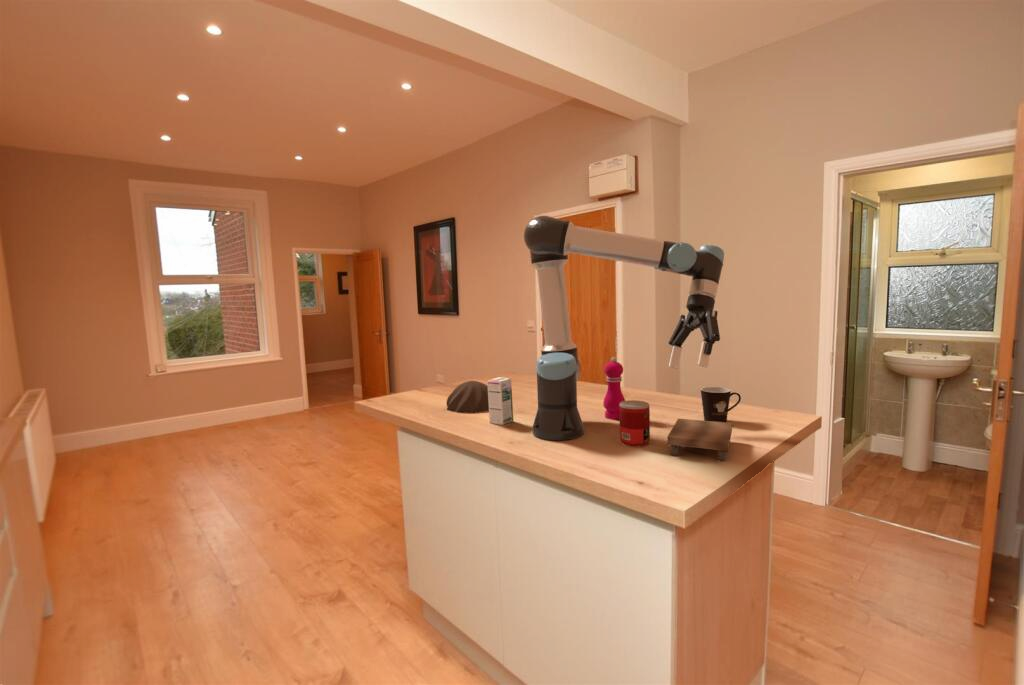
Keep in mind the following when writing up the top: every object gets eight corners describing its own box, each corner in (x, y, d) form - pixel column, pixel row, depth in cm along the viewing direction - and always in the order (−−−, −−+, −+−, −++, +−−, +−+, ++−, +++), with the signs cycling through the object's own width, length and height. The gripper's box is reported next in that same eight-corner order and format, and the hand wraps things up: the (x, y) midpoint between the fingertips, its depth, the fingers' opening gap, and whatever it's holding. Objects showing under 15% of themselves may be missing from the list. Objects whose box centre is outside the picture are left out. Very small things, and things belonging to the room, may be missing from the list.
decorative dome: (477, 398, 197) (476, 374, 196) (508, 406, 181) (507, 380, 180) (436, 407, 184) (434, 381, 183) (465, 416, 169) (464, 388, 168)
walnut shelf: (667, 456, 122) (667, 436, 121) (677, 435, 138) (677, 418, 137) (728, 463, 116) (728, 442, 115) (731, 440, 132) (732, 423, 131)
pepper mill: (628, 415, 161) (628, 356, 159) (621, 420, 155) (620, 359, 153) (608, 413, 165) (607, 355, 163) (600, 418, 159) (599, 358, 157)
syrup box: (503, 425, 155) (501, 381, 154) (488, 423, 159) (486, 379, 157) (513, 421, 160) (512, 378, 158) (499, 418, 163) (497, 376, 162)
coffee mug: (700, 423, 148) (700, 392, 147) (700, 416, 156) (700, 386, 155) (742, 426, 144) (742, 393, 143) (740, 419, 152) (740, 387, 151)
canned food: (650, 447, 129) (650, 407, 128) (620, 446, 131) (619, 406, 129) (648, 438, 136) (648, 400, 135) (619, 437, 138) (619, 400, 137)
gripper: (743, 293, 131) (728, 369, 128) (686, 307, 155) (672, 371, 151) (720, 285, 129) (704, 361, 126) (666, 300, 153) (651, 364, 150)
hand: (687, 367), depth 139 cm, fingers open, 13 cm apart
